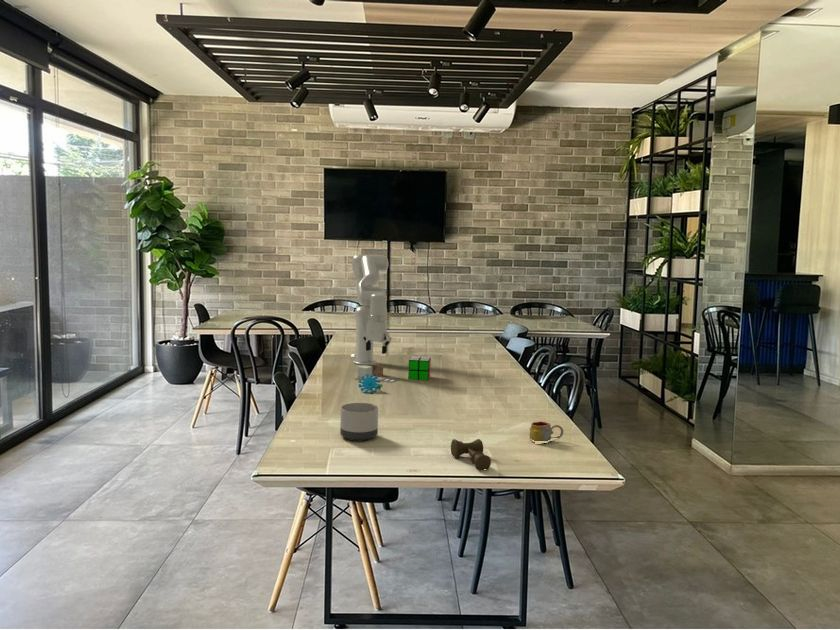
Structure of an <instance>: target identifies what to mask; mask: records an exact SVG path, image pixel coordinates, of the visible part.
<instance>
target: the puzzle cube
mask: <svg viewBox="0 0 840 630" xmlns="http://www.w3.org/2000/svg"><path fill="white" fill-rule="evenodd" d="M431 359H432V358H431V357H429V356H410V358H409V360H408V377H407V378H408V380H419V381H429V380H430V377H431V364H432V363H431V361H432V360H431Z"/></svg>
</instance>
